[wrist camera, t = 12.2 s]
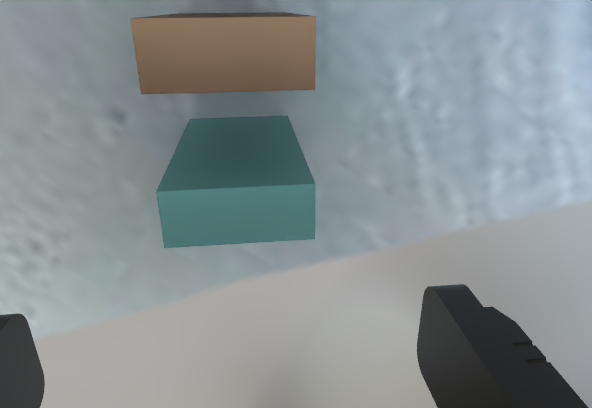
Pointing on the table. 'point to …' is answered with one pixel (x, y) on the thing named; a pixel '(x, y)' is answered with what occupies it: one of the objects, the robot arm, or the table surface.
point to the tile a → (224, 52)
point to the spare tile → (237, 184)
